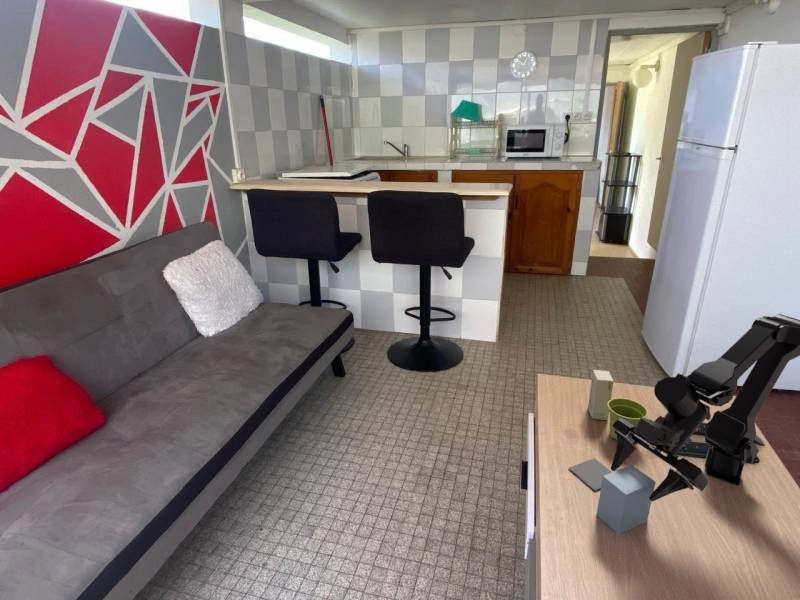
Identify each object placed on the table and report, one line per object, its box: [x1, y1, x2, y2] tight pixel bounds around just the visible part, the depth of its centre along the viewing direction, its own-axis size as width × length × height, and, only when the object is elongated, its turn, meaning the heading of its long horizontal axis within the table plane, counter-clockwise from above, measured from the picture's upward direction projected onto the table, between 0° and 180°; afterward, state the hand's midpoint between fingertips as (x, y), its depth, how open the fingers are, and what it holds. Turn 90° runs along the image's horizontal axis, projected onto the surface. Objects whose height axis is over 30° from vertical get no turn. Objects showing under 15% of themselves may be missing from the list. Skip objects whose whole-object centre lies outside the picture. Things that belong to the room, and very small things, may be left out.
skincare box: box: [587, 369, 614, 421], centre depth 128 cm, size 6×4×12 cm
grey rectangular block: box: [596, 464, 656, 535], centre depth 94 cm, size 8×6×10 cm
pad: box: [568, 457, 613, 492], centre depth 107 cm, size 8×8×1 cm
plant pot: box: [607, 397, 649, 441], centre depth 119 cm, size 9×9×9 cm
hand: (630, 484), depth 93 cm, fingers open, 9 cm apart
